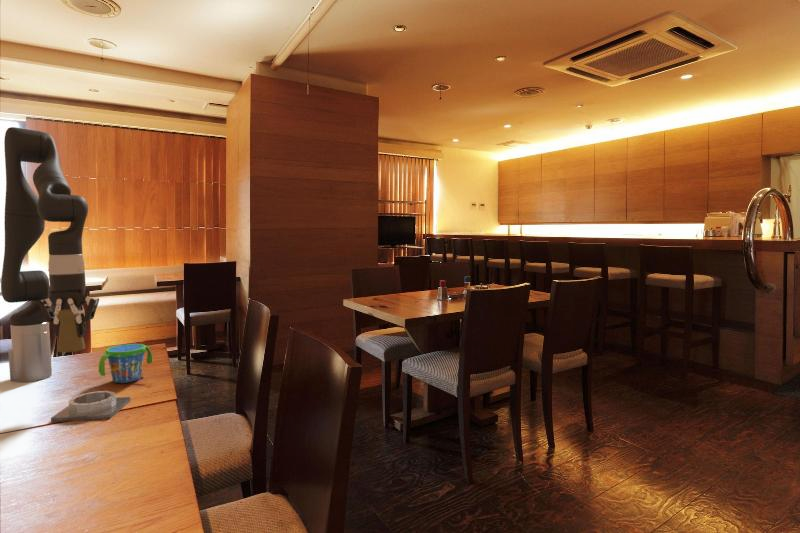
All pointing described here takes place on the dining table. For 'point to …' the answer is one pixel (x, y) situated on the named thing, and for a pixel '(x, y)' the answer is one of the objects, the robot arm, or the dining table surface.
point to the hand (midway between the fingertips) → (71, 337)
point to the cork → (68, 332)
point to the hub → (92, 407)
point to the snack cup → (125, 362)
